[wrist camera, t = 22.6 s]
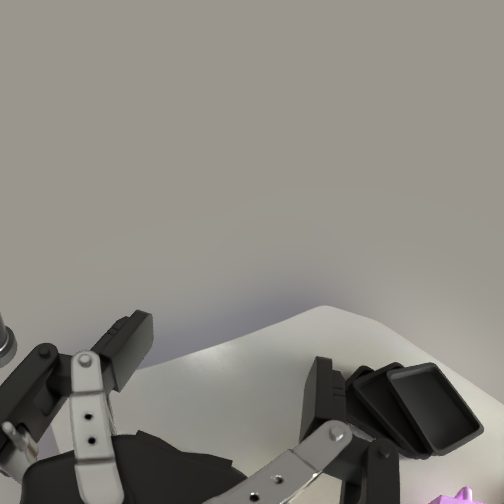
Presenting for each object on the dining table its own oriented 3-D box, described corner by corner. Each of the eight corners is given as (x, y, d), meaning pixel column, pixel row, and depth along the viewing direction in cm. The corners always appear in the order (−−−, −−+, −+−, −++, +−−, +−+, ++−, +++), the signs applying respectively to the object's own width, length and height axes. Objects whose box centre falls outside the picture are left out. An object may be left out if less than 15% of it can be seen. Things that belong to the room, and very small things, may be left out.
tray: (311, 425, 41) (321, 406, 39) (358, 352, 59) (366, 334, 57) (461, 485, 26) (480, 470, 24) (471, 400, 44) (483, 383, 42)
